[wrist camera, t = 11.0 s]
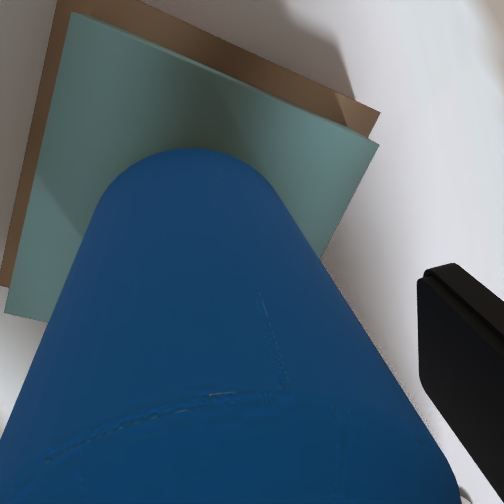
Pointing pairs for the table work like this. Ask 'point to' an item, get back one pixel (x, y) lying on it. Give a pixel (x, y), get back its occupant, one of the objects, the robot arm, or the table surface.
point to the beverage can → (209, 362)
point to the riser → (166, 132)
